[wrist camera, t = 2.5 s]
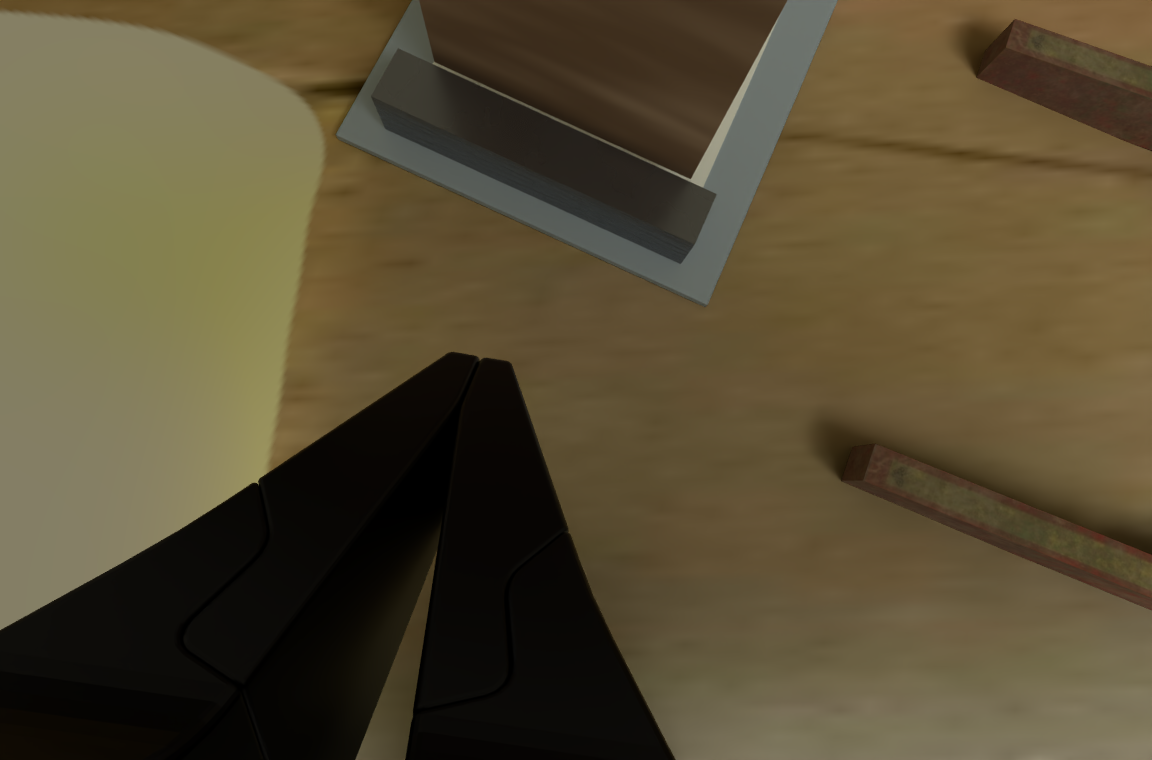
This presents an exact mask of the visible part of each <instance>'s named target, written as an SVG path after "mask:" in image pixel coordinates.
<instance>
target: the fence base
mask: <svg viewBox="0 0 1152 760" xmlns="http://www.w3.org/2000/svg"><path fill="white" fill-rule="evenodd" d="M371 98H372V100H373V102H374V105H375V107H376V109H377V111H378V114H379V116H380V118H381V120H382V123H383V125H384V127H385V129H386V130H388V131H390V132H393V133H395V134H397V135H399V136H401V137H403V138H406V139H408V140H410V141H412V142H414V143H417V144H419V145H421V146H423V147H425V148H428V149H430V150H432V151H434V152H436V153H438V154H441V155H443V156H445V157H447V158H449V159H452V160H454V161H456V162H458V163H460V164H463V165H465V166H467V167H469V168H471V169H473V170H476V171H478V172H480V173H482V174H484V175H487V176H489V177H491V178H493V179H495V180H498V181H500V182H502V183H504V184H506V185H508V186H511V187H513V188H515V189H517V190H519V191H522V192H524V193H526V194H528V195H530V196H532V197H535V198H537V199H539V200H541V201H543V202H546V203H548V204H550V205H552V206H554V207H557V208H559V209H561V210H563V211H565V212H567V213H570V214H572V215H574V216H576V217H578V218H581V219H583V220H585V221H587V222H589V223H592V224H594V225H596V226H598V227H600V228H602V229H605V230H607V231H609V232H611V233H613V234H616V235H618V236H620V237H622V238H624V239H627V240H629V241H631V242H633V243H635V244H637V245H640V246H642V247H644V248H646V249H648V250H651V251H653V252H655V253H657V254H659V255H661V256H664V257H666V258H668V259H670V260H672V261H675V262H677V263H679V264H681V263H682V262H683V260H684V259H685V258H686V256H687V255H688V253H689V252H690V251H691V249H692V248H693V246H694V245H695V243H696V241H697V238H698V236H699V234H700V232H701V229H702V227H703V225H704V223H705V220H706V218H707V216H708V213H709V211H710V209H711V207H712V204H713V202H714V200H715V197H716V195H717V194H716V193H713V192H711V191H709V190H707V189H705V188H703V187H700V186H698V185H696V184H694V183H692V182H689V181H687V180H685V179H683V178H681V177H678V176H676V175H674V174H672V173H670V172H668V171H665V170H663V169H661V168H659V167H657V166H654V165H652V164H650V163H648V162H646V161H644V160H641V159H639V158H637V157H635V156H633V155H630V154H628V153H626V152H624V151H622V150H619V149H617V148H615V147H613V146H611V145H609V144H606V143H604V142H602V141H600V140H598V139H595V138H593V137H591V136H589V135H587V134H585V133H582V132H580V131H578V130H576V129H574V128H571V127H569V126H567V125H565V124H563V123H560V122H558V121H556V120H554V119H552V118H550V117H547V116H545V115H543V114H541V113H539V112H536V111H534V110H532V109H530V108H528V107H526V106H523V105H521V104H519V103H517V102H515V101H512V100H510V99H508V98H506V97H504V96H501V95H499V94H497V93H495V92H493V91H491V90H488V89H486V88H484V87H482V86H480V85H477V84H475V83H473V82H471V81H469V80H467V79H464V78H462V77H460V76H458V75H456V74H453V73H451V72H449V71H447V70H445V69H442V68H440V67H438V66H436V65H434V64H432V63H429V62H427V61H425V60H423V59H421V58H418V57H416V56H414V55H412V54H410V53H408V52H405V51H403V50H401V49H399V48H398V49H397V51H396V53H395V54H394V56H393V58H392V60H391V61H390V63H389V65H388V67H387V68H386V70H385V72H384V74H383V76H382V77H381V79H380V81H379V83H378V84H377V86H376V88H375V90H374V92H373V93H372V95H371Z"/></svg>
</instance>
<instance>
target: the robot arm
mask: <svg viewBox="0 0 1152 760" xmlns="http://www.w3.org/2000/svg"><path fill="white" fill-rule="evenodd" d="M258 483H259V485H258V484H257V483H252V484H250V485H249V486H247V487H246V488H244V489H243V490H241V491H240V492H238V493H237V494H235V495H234V496H232V497H231V498H229V499H228V500H226V501H225V502H223V503H221V504H220V505H218V506H217V507H215V508H213V509H212V510H210V511H209V512H207V513H206V514H204V515H202V516H201V517H199V518H198V519H196V520H194V521H193V522H191V523H190V524H188V525H187V526H185V527H184V528H182V529H180V530H179V531H177V532H175V533H174V534H172V535H170V536H168V537H166V538H165V539H163V540H161V541H160V542H158V543H156V544H154V545H153V546H151V547H149V548H147V549H146V550H144V551H142V552H140V553H139V554H137V555H135V556H133V557H132V558H130V559H128V560H126V561H125V562H123V563H121V564H119V565H118V566H116V567H114V568H112V569H110V570H109V571H107V572H105V573H103V574H101V575H100V576H98V577H96V578H94V579H92V580H90V581H89V582H87V583H85V584H83V585H81V586H80V587H78V588H76V589H74V590H72V591H70V592H69V593H67V594H65V595H63V596H61V597H60V598H58V599H56V600H54V601H52V602H51V603H49V604H47V605H45V606H43V607H41V608H40V609H38V610H36V611H34V612H32V613H31V614H29V615H27V616H25V617H23V618H21V619H20V620H18V621H16V622H14V623H12V624H11V625H9V626H7V627H5V628H3V629H1V630H0V760H355V759H356V756H357V754H358V751H359V749H360V746H361V743H362V741H363V738H364V736H365V733H366V731H367V728H368V725H369V723H370V720H371V718H372V715H373V713H374V710H375V707H376V705H377V702H378V700H379V697H380V695H381V692H382V689H383V687H384V684H385V682H386V679H387V677H388V674H389V671H390V669H391V666H392V664H393V661H394V659H395V656H396V653H397V651H398V648H399V646H400V643H401V641H402V638H403V635H404V633H405V630H406V628H407V625H408V623H409V620H410V617H411V615H412V612H413V610H414V607H415V605H416V602H417V599H418V597H419V594H420V592H421V589H422V587H423V584H424V581H425V579H426V576H427V574H428V571H429V569H430V566H431V563H432V561H433V558H434V556H435V553H436V551H437V557H436V563H435V570H434V576H433V583H432V590H431V596H430V603H429V609H428V616H427V623H426V629H425V636H424V642H423V649H422V656H421V662H420V669H419V675H418V682H417V688H416V695H415V702H414V708H413V719H412V722H411V728H410V734H409V741H408V747H407V753H406V759H405V760H675V758H674V756H673V754H672V752H671V750H670V748H669V747H668V745H667V743H666V741H665V739H664V737H663V735H662V733H661V731H660V729H659V727H658V725H657V723H656V721H655V719H654V717H653V715H652V713H651V711H650V709H649V707H648V705H647V703H646V701H645V699H644V697H643V696H642V694H641V692H640V690H639V688H638V686H637V684H636V682H635V680H634V678H633V676H632V674H631V672H630V670H629V668H628V666H627V664H626V662H625V660H624V658H623V656H622V654H621V652H620V650H619V648H618V647H617V645H616V643H615V641H614V639H613V637H612V634H611V632H610V630H609V628H608V626H607V624H606V622H605V620H604V617H603V615H602V613H601V611H600V609H599V607H598V605H597V603H596V600H595V598H594V596H593V594H592V591H591V588H590V586H589V583H588V581H587V578H586V575H585V573H584V570H583V568H582V565H581V563H580V560H579V557H578V554H577V551H576V549H575V546H574V543H573V540H572V537H571V535H570V534H569V533H568V526H567V523H566V520H565V518H564V515H563V512H562V509H561V506H560V503H559V500H558V497H557V494H556V491H555V488H554V486H553V483H552V480H551V477H550V474H549V471H548V468H547V465H546V462H545V459H544V456H543V454H542V451H541V448H540V445H539V442H538V439H537V436H536V433H535V430H534V427H533V424H532V422H531V419H530V416H529V413H528V410H527V407H526V404H525V401H524V398H523V395H522V392H521V390H520V387H519V384H518V381H517V378H516V375H515V372H514V369H513V366H512V364H511V363H510V362H508V361H503V360H497V359H491V358H483V359H481V360H479V358H478V357H477V356H474V355H468V354H462V353H456V352H450V353H447V354H446V355H444V356H443V357H441V358H440V359H438V360H437V361H435V362H434V363H432V364H431V365H429V366H428V367H426V368H425V369H423V370H422V371H420V372H419V373H417V374H416V375H414V376H413V377H411V378H410V379H408V380H407V381H405V382H404V383H402V384H401V385H399V386H398V387H396V388H395V389H393V390H392V391H390V392H389V393H387V394H386V395H384V396H383V397H381V398H380V399H378V400H377V401H375V402H374V403H372V404H371V405H369V406H368V407H366V408H365V409H363V410H362V411H360V412H359V413H357V414H356V415H354V416H353V417H351V418H350V419H348V420H347V421H345V422H344V423H342V424H341V425H339V426H338V427H336V428H335V429H333V430H332V431H330V432H329V433H327V434H326V435H324V436H323V437H321V438H320V439H318V440H317V441H315V442H314V443H312V444H311V445H309V446H308V447H306V448H305V449H303V450H302V451H300V452H299V453H297V454H296V455H294V456H293V457H291V458H290V459H288V460H287V461H285V462H284V463H282V464H281V465H279V466H278V467H276V468H275V469H273V470H272V471H270V472H269V473H267V474H266V475H264V476H263V477H261V478H260V479H259V481H258ZM437 548H438V550H437Z"/></svg>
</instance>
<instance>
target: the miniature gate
mask: <svg viewBox="0 0 1152 760" xmlns="http://www.w3.org/2000/svg"><path fill="white" fill-rule="evenodd" d="M976 78H979V79H981V80H983V81H986V82H988V83H990V84H993V85H995V86H998V87H1000V88H1002V89H1005V90H1007V91H1009V92H1012V93H1014V94H1016V95H1019V96H1021V97H1023V98H1026V99H1028V100H1030V101H1033V102H1035V103H1037V104H1040V105H1042V106H1044V107H1047V108H1049V109H1051V110H1054V111H1056V112H1058V113H1061V114H1063V115H1065V116H1068V117H1070V118H1072V119H1075V120H1077V121H1079V122H1082V123H1084V124H1086V125H1089V126H1091V127H1093V128H1096V129H1098V130H1100V131H1103V132H1105V133H1107V134H1110V135H1112V136H1114V137H1117V138H1119V139H1121V140H1124V141H1126V142H1129V143H1132V144H1135V145H1137V146H1140V147H1143V148H1146V149H1149V150H1151V151H1152V66H1149V65H1146V64H1143V63H1140V62H1137V61H1134V60H1132V59H1129V58H1126V57H1123V56H1120V55H1117V54H1114V53H1112V52H1109V51H1106V50H1103V49H1100V48H1097V47H1094V46H1091V45H1089V44H1086V43H1083V42H1080V41H1077V40H1074V39H1071V38H1068V37H1066V36H1063V35H1060V34H1057V33H1054V32H1051V31H1048V30H1045V29H1043V28H1040V27H1037V26H1034V25H1031V24H1028V23H1025V22H1022V21H1020V20H1017V19H1015V20H1014V21H1013V22H1012V23H1011V24H1010V25H1009V26H1008V27H1007V28H1006V29H1005V30H1004V31H1003V32H1002V33H1001V34H1000V36H999V37H998V38H997V39H996V40H995V41H994V42H993V43H992V44H991V45H990V46H989V47H988V48H987V49H986V50H985V53H984V56H983V59H982V62H981V65H980V68H979V71H978V74H977V77H976ZM841 481H843V482H845V483H847V484H850V485H852V486H854V487H857V488H859V489H862V490H864V491H866V492H869V493H871V494H873V495H876V496H878V497H880V498H883V499H885V500H888V501H890V502H892V503H895V504H897V505H899V506H902V507H904V508H906V509H909V510H911V511H914V512H916V513H918V514H921V515H923V516H925V517H928V518H930V519H932V520H935V521H937V522H940V523H942V524H944V525H947V526H949V527H951V528H954V529H956V530H958V531H961V532H963V533H966V534H968V535H970V536H973V537H975V538H977V539H980V540H982V541H984V542H987V543H989V544H992V545H994V546H996V547H999V548H1001V549H1003V550H1006V551H1008V552H1011V553H1013V554H1015V555H1018V556H1020V557H1023V558H1025V559H1028V560H1030V561H1033V562H1035V563H1037V564H1040V565H1042V566H1045V567H1047V568H1050V569H1052V570H1055V571H1057V572H1059V573H1062V574H1064V575H1067V576H1069V577H1072V578H1074V579H1077V580H1079V581H1081V582H1084V583H1086V584H1089V585H1091V586H1094V587H1096V588H1099V589H1101V590H1104V591H1106V592H1108V593H1111V594H1113V595H1116V596H1118V597H1121V598H1123V599H1126V600H1128V601H1130V602H1133V603H1135V604H1138V605H1140V606H1143V607H1145V608H1148V609H1150V610H1152V555H1151V554H1148V553H1146V552H1143V551H1141V550H1138V549H1136V548H1133V547H1131V546H1129V545H1126V544H1124V543H1121V542H1119V541H1116V540H1114V539H1111V538H1109V537H1106V536H1104V535H1101V534H1099V533H1096V532H1094V531H1091V530H1089V529H1086V528H1084V527H1081V526H1079V525H1076V524H1074V523H1071V522H1069V521H1066V520H1064V519H1061V518H1059V517H1056V516H1054V515H1051V514H1049V513H1047V512H1044V511H1042V510H1039V509H1037V508H1034V507H1032V506H1029V505H1027V504H1024V503H1022V502H1019V501H1017V500H1014V499H1012V498H1009V497H1007V496H1004V495H1002V494H999V493H997V492H994V491H992V490H989V489H987V488H984V487H982V486H979V485H977V484H974V483H972V482H969V481H967V480H964V479H962V478H960V477H957V476H955V475H952V474H950V473H947V472H945V471H942V470H940V469H937V468H935V467H932V466H930V465H927V464H925V463H922V462H920V461H917V460H915V459H912V458H910V457H907V456H905V455H902V454H900V453H897V452H895V451H892V450H890V449H887V448H885V447H882V446H880V445H877V444H869V445H862V446H855V447H852V450H851V453H850V456H849V459H848V462H847V465H846V468H845V471H844V474H843V477H842V480H841Z"/></svg>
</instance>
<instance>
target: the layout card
mask: <svg viewBox="0 0 1152 760" xmlns="http://www.w3.org/2000/svg"><path fill="white" fill-rule="evenodd" d="M837 1H838V0H787V2H786V4H785V6H784V8H783V10H782V12H781V13H780V15H779V17H778V19H777V21H776V23H775V24H774V26H773V28H772V30H771V32H770V34H769V36H768V37H767V39H766V41H765V43H764V45H763V47H762V49H761V50H760V52H759V54H758V56H757V58H756V60H755V61H754V63H753V65H752V67H751V69H750V71H749V73H748V74H747V76H746V78H745V80H744V82H743V84H742V85H741V87H740V89H739V91H738V93H737V95H736V97H735V98H734V100H733V102H732V104H731V106H730V108H729V110H728V111H727V113H726V115H725V117H724V119H723V121H722V122H721V124H720V126H719V128H718V130H717V132H716V134H715V135H714V137H713V139H712V141H711V143H710V145H709V146H708V148H707V150H706V152H705V154H704V156H703V158H702V159H701V161H700V163H699V165H698V167H697V169H696V171H695V172H694V174H693V176H692V178H691V179H689V178H687V177H685V176H682V175H680V174H678V173H676V172H674V171H671V170H669V169H667V168H665V167H663V166H661V165H658V164H656V163H654V162H652V161H650V160H647V159H645V158H643V157H641V156H639V155H636V154H634V153H632V152H630V151H628V150H626V149H623V148H621V147H619V146H617V145H615V144H612V143H610V142H608V141H606V140H604V139H602V138H599V137H597V136H595V135H593V134H591V133H588V132H586V131H584V130H582V129H580V128H577V127H575V126H573V125H571V124H569V123H567V122H564V121H562V120H560V119H558V118H556V117H553V116H551V115H549V114H547V113H545V112H543V111H540V110H538V109H536V108H534V107H532V106H529V105H527V104H525V103H523V102H521V101H518V100H516V99H514V98H512V97H510V96H508V95H505V94H503V93H501V92H499V91H497V90H494V89H492V88H490V87H488V86H486V85H484V84H481V83H479V82H477V81H475V80H473V79H470V78H468V77H466V76H464V75H462V74H459V73H457V72H455V71H453V70H451V69H449V68H446V67H444V66H442V65H440V64H438V63H435V62H434V58H433V54H432V50H431V46H430V42H429V38H428V34H427V30H426V26H425V22H424V18H423V14H422V10H421V6H420V2H419V0H412V1H411V3H410V5H409V6H408V8H407V10H406V12H405V13H404V15H403V17H402V19H401V21H400V22H399V24H398V26H397V28H396V29H395V31H394V33H393V35H392V36H391V38H390V40H389V42H388V43H387V45H386V47H385V49H384V50H383V52H382V54H381V56H380V58H379V59H378V61H377V63H376V65H375V66H374V68H373V70H372V72H371V73H370V75H369V77H368V79H367V80H366V82H365V84H364V86H363V87H362V89H361V91H360V93H359V94H358V96H357V98H356V100H355V102H354V103H353V105H352V107H351V109H350V110H349V112H348V114H347V116H346V117H345V119H344V121H343V123H342V124H341V126H340V128H339V130H338V131H337V133H336V136H337V138H338V139H339V140H341V141H343V142H345V143H347V144H350V145H352V146H354V147H356V148H358V149H361V150H363V151H365V152H367V153H369V154H372V155H374V156H376V157H378V158H380V159H382V160H385V161H387V162H389V163H391V164H393V165H396V166H398V167H400V168H402V169H404V170H407V171H409V172H411V173H413V174H415V175H417V176H420V177H422V178H424V179H426V180H428V181H431V182H433V183H435V184H437V185H439V186H442V187H444V188H446V189H448V190H450V191H452V192H455V193H457V194H459V195H461V196H463V197H466V198H468V199H470V200H472V201H474V202H476V203H479V204H481V205H483V206H485V207H487V208H490V209H492V210H494V211H496V212H498V213H501V214H503V215H505V216H507V217H509V218H511V219H514V220H516V221H518V222H520V223H522V224H525V225H527V226H529V227H531V228H533V229H536V230H538V231H540V232H542V233H544V234H546V235H549V236H551V237H553V238H555V239H557V240H560V241H562V242H564V243H566V244H568V245H571V246H573V247H575V248H577V249H579V250H581V251H584V252H586V253H588V254H590V255H592V256H595V257H597V258H599V259H601V260H603V261H606V262H608V263H610V264H612V265H614V266H616V267H619V268H621V269H623V270H625V271H627V272H630V273H632V274H634V275H636V276H638V277H641V278H643V279H645V280H647V281H649V282H651V283H654V284H656V285H658V286H660V287H662V288H665V289H667V290H669V291H671V292H673V293H676V294H678V295H680V296H682V297H684V298H686V299H689V300H691V301H693V302H695V303H697V304H700V305H702V306H704V307H706V306H707V305H708V302H709V300H710V298H711V295H712V293H713V291H714V288H715V286H716V284H717V281H718V279H719V277H720V274H721V272H722V270H723V267H724V265H725V263H726V260H727V258H728V256H729V253H730V251H731V249H732V246H733V244H734V242H735V239H736V237H737V235H738V232H739V230H740V227H741V225H742V223H743V220H744V218H745V216H746V213H747V211H748V209H749V206H750V204H751V202H752V199H753V197H754V195H755V192H756V190H757V188H758V185H759V183H760V181H761V178H762V176H763V174H764V171H765V169H766V167H767V164H768V162H769V160H770V157H771V155H772V153H773V150H774V148H775V146H776V143H777V141H778V139H779V136H780V134H781V132H782V129H783V127H784V125H785V122H786V120H787V118H788V115H789V113H790V111H791V108H792V106H793V103H794V101H795V99H796V96H797V94H798V92H799V89H800V87H801V85H802V82H803V80H804V78H805V75H806V73H807V71H808V68H809V66H810V64H811V61H812V59H813V57H814V54H815V52H816V50H817V47H818V45H819V43H820V40H821V38H822V36H823V33H824V31H825V29H826V26H827V24H828V22H829V19H830V17H831V15H832V12H833V10H834V8H835V5H836V3H837ZM398 48H399V49H401V50H403V51H405V52H408V53H410V54H412V55H414V56H416V57H418V58H421V59H423V60H425V61H427V62H429V63H432V64H434V65H436V66H438V67H440V68H442V69H445V70H447V71H449V72H451V73H453V74H456V75H458V76H460V77H462V78H464V79H467V80H469V81H471V82H473V83H475V84H477V85H480V86H482V87H484V88H486V89H488V90H491V91H493V92H495V93H497V94H499V95H501V96H504V97H506V98H508V99H510V100H512V101H515V102H517V103H519V104H521V105H523V106H526V107H528V108H530V109H532V110H534V111H536V112H539V113H541V114H543V115H545V116H547V117H550V118H552V119H554V120H556V121H558V122H560V123H563V124H565V125H567V126H569V127H571V128H574V129H576V130H578V131H580V132H582V133H585V134H587V135H589V136H591V137H593V138H595V139H598V140H600V141H602V142H604V143H606V144H609V145H611V146H613V147H615V148H617V149H619V150H622V151H624V152H626V153H628V154H630V155H633V156H635V157H637V158H639V159H641V160H644V161H646V162H648V163H650V164H652V165H654V166H657V167H659V168H661V169H663V170H665V171H668V172H670V173H672V174H674V175H676V176H678V177H681V178H683V179H685V180H687V181H689V182H692V183H694V184H696V185H698V186H700V187H703V188H705V189H707V190H709V191H711V192H713V193H716V194H717V195H716V197H715V200H714V202H713V204H712V207H711V209H710V211H709V213H708V216H707V218H706V220H705V223H704V225H703V227H702V229H701V232H700V234H699V236H698V238H697V241H696V243H695V245H694V246H693V248H692V249H691V251H690V252H689V253H688V255H687V256H686V258H685V259H684V260H683V262H682V263H681V264H679V263H677V262H675V261H672V260H670V259H668V258H666V257H664V256H661V255H659V254H657V253H655V252H653V251H651V250H648V249H646V248H644V247H642V246H640V245H637V244H635V243H633V242H631V241H629V240H627V239H624V238H622V237H620V236H618V235H616V234H613V233H611V232H609V231H607V230H605V229H602V228H600V227H598V226H596V225H594V224H592V223H589V222H587V221H585V220H583V219H581V218H578V217H576V216H574V215H572V214H570V213H567V212H565V211H563V210H561V209H559V208H557V207H554V206H552V205H550V204H548V203H546V202H543V201H541V200H539V199H537V198H535V197H532V196H530V195H528V194H526V193H524V192H522V191H519V190H517V189H515V188H513V187H511V186H508V185H506V184H504V183H502V182H500V181H498V180H495V179H493V178H491V177H489V176H487V175H484V174H482V173H480V172H478V171H476V170H473V169H471V168H469V167H467V166H465V165H463V164H460V163H458V162H456V161H454V160H452V159H449V158H447V157H445V156H443V155H441V154H438V153H436V152H434V151H432V150H430V149H428V148H425V147H423V146H421V145H419V144H417V143H414V142H412V141H410V140H408V139H406V138H403V137H401V136H399V135H397V134H395V133H393V132H390V131H388V130H386V129H385V127H384V125H383V123H382V120H381V118H380V116H379V114H378V111H377V109H376V107H375V105H374V102H373V100H372V98H371V95H372V93H373V92H374V90H375V88H376V86H377V84H378V83H379V81H380V79H381V77H382V76H383V74H384V72H385V70H386V68H387V67H388V65H389V63H390V61H391V60H392V58H393V56H394V54H395V53H396V51H397V49H398Z"/></svg>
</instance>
